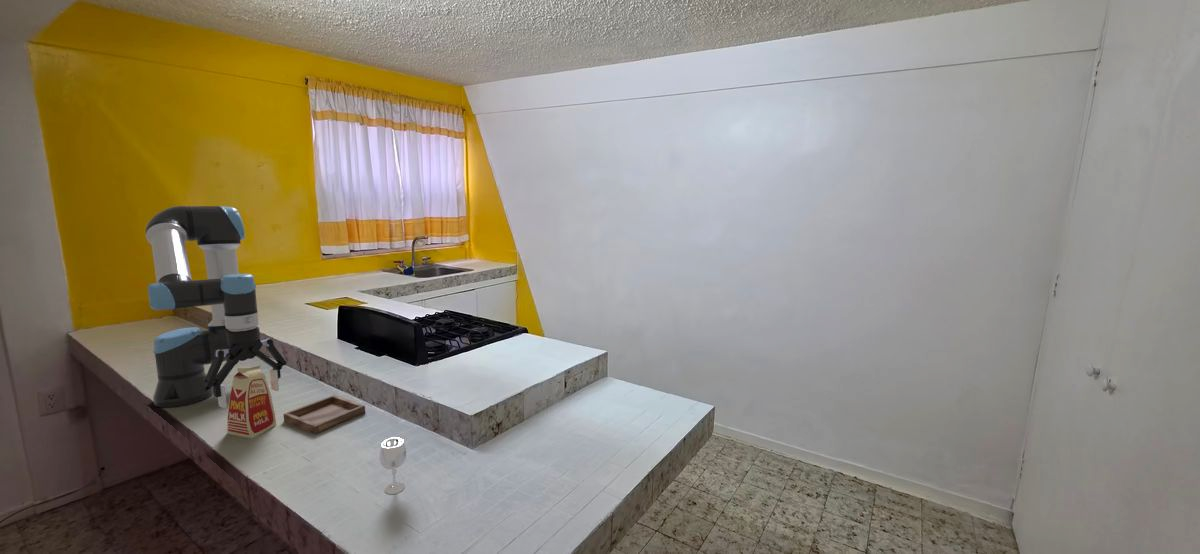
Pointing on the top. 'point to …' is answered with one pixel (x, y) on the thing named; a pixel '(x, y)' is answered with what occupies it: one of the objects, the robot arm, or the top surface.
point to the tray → (324, 414)
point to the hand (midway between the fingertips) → (250, 397)
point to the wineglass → (393, 461)
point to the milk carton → (250, 404)
